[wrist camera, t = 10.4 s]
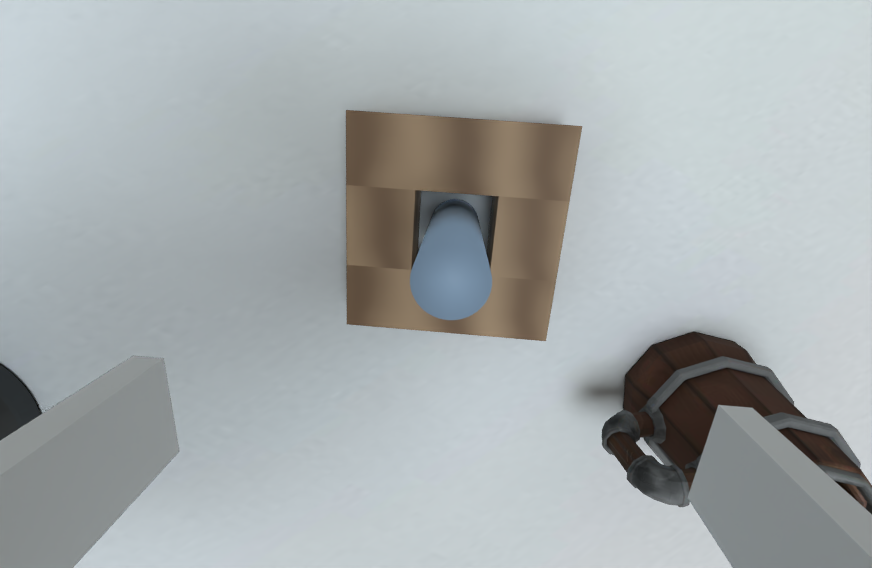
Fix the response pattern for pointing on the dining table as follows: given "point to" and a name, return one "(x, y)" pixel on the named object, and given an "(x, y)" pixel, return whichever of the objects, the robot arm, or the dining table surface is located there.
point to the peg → (452, 264)
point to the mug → (710, 417)
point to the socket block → (467, 174)
